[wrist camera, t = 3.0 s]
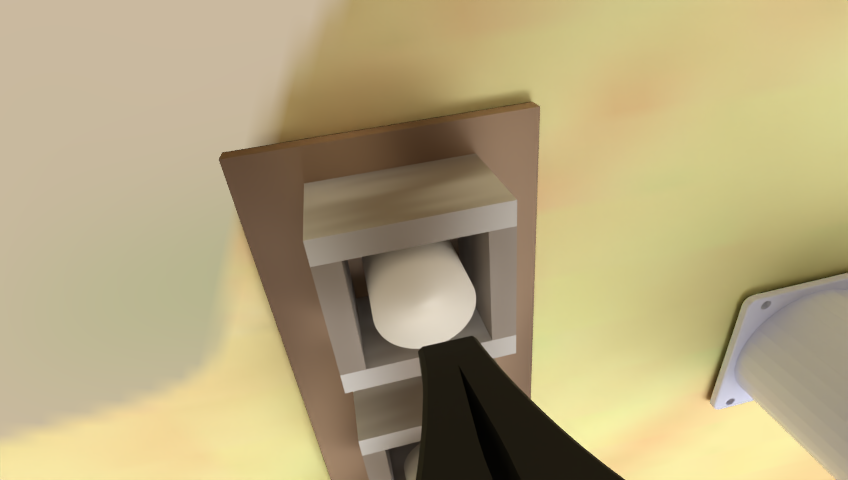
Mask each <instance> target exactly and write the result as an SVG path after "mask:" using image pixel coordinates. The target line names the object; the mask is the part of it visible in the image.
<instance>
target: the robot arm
mask: <svg viewBox="0 0 848 480" xmlns="http://www.w3.org/2000/svg"><path fill="white" fill-rule="evenodd" d="M418 355H419V362H420V369H421V376H422V383H423V410H422V430H421V440H420V449H419V458H418V467H417V474H416V480H625V479H623V478H622V477H621V476H619V475H618V474H617V473H615V472H614V471H613V470H611V469H610V468H609V467H607V466H606V465H605V464H603V463H602V462H601V461H600V460H598V459H597V458H596V457H595V456H593V455H592V454H591V453H590V452H588V451H587V450H586V449H585V448H583V447H582V446H581V445H580V444H579V443H578V442H576V441H575V440H574V439H573V438H572V437H571V436H569V435H568V434H567V433H566V432H565V431H564V430H563V429H561V428H560V427H559V426H558V425H557V424H556V423H555V422H554V421H553V420H552V419H550V418H549V417H548V416H547V415H546V414H545V413H544V412H543V411H542V410H541V409H540V408H539V407H538V406H537V405H536V404H535V403H534V402H533V401H532V400H531V399H530V398H529V397H528V396H527V395H526V394H525V393H524V392H523V391H522V390H521V389H520V388H519V387H518V386H517V385H516V384H515V383H514V382H513V381H512V380H511V379H510V378H509V376H508V375H507V374H506V373H505V372H504V371H503V370H502V369H501V368H500V366H499V365H498V364H497V363H496V362H495V361H494V359H493V358H492V357H491V356H490V355H489V353H488V352H487V351H486V350H485V349H484V347H483V346H482V345H481V343H480V342H479V341H478V339H477V338H475V337H474V336H468V337H463V338H459V339H454V340H450V341H445V342H441V343H437V344H432V345H428V346H423V347H421V349H420V350H419V351H418ZM753 400H755V401H756V402H757V403H758V404H759V405H760V406H761V407H762V408H763V409H764V410H765V411H766V412H767V413H768V414H769V415H770V416H771V417H772V418H773V419H774V420H775V421H776V422H777V423H778V424H779V425H780V426H781V427H782V428H783V429H784V430H785V431H786V432H787V433H789V434H790V435H791V436H792V437H793V438H794V439H795V440H796V441H797V442H798V443H799V444H800V445H801V446H802V447H803V448H804V449H805V450H806V451H807V452H808V453H809V454H810V455H811V456H812V457H813V458H814V459H815V460H816V461H817V462H818V463H819V464H820V465H821V466H822V467H823V468H824V469H825V470H827V471H828V472H829V473H830V474H831V475H832V476H833V477H834V478H835V479H836V480H848V273H845V274H840V275H836V276H832V277H828V278H823V279H819V280H815V281H811V282H806V283H802V284H798V285H794V286H789V287H785V288H781V289H777V290H772V291H768V292H764V293H760V294H755V295H752V296H749V297H748V298H746V299H745V301H744V302H743V304H742V306H741V309H740V312H739V315H738V318H737V321H736V324H735V327H734V330H733V333H732V336H731V339H730V342H729V345H728V348H727V351H726V354H725V357H724V360H723V363H722V366H721V369H720V372H719V375H718V378H717V381H716V384H715V387H714V390H713V393H712V396H711V399H710V404H711V405H712V406H713V407H714V408H715V409H723V408H727V407H730V406H734V405H738V404H741V403H745V402H749V401H753Z"/></svg>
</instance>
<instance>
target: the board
mask: <svg viewBox="0 0 848 480" xmlns="http://www.w3.org/2000/svg"><path fill="white" fill-rule="evenodd" d="M539 120H540V106H538V105H537V104H535V103H533V102H529V103H523V104H517V105H510V106H504V107H498V108H492V109H486V110H480V111H474V112H468V113H462V114H455V115H449V116H443V117H437V118H431V119H425V120H419V121H413V122H406V123H400V124H394V125H388V126H382V127H376V128H370V129H364V130H358V131H351V132H345V133H339V134H333V135H327V136H321V137H315V138H309V139H303V140H296V141H290V142H284V143H278V144H272V145H266V146H260V147H254V148H248V149H241V150H235V151H230V152H223V153H222V154H221V156H220V158H219V161H220V164H221V167H222V170H223V172H224V175H225V178H226V181H227V184H228V187H229V190H230V193H231V195H232V198H233V201H234V204H235V207H236V210H237V213H238V215H239V218H240V221H241V224H242V227H243V230H244V233H245V235H246V238H247V241H248V244H249V247H250V250H251V253H252V255H253V258H254V261H255V264H256V267H257V270H258V273H259V275H260V278H261V281H262V284H263V287H264V290H265V293H266V295H267V298H268V301H269V304H270V307H271V310H272V312H273V315H274V318H275V321H276V324H277V327H278V330H279V332H280V335H281V338H282V341H283V344H284V347H285V350H286V352H287V355H288V358H289V361H290V364H291V367H292V370H293V372H294V375H295V378H296V381H297V384H298V387H299V390H300V392H301V395H302V398H303V401H304V404H305V407H306V410H307V412H308V415H309V418H310V421H311V424H312V427H313V430H314V432H315V435H316V438H317V441H318V444H319V447H320V449H321V452H322V455H323V458H324V461H325V464H326V467H327V469H328V472H329V475H330V478H331V480H406V477H405V472H404V462H405V459H406V457H407V456H408V454H409V453H410V452H411V451H412V450H413V449H414V448H415V447H416V446H417V445H419V444H420V440H421V430H422V410H423V383H422V376H421V369H420V362H419V355H418V351H419V350H420V349H421V348H420V349H411V348H404V347H400V346H397V345H394V344H392V343H390V342H389V341H387V340H386V339H385V338H383V337H382V336H381V335H380V333H379V332H378V331H377V329H376V327H375V324H374V321H373V316H372V311H371V305H370V300H369V295H368V289H367V284H366V278H365V273H364V267H363V262H362V257H364V256H369V255H374V254H379V253H384V252H389V251H394V250H399V249H404V248H409V247H414V246H419V245H424V244H429V243H434V242H439V241H445V240H450V242H451V244H452V246H453V248H454V250H455V252H456V254H457V255H458V257H459V259H460V261H461V263H462V265H463V267H464V269H465V271H466V273H467V275H468V277H469V279H470V281H471V283H472V285H473V287H474V289H475V293H476V306H475V310H474V313H473V315H472V317H471V319H470V321H469V322H468V324H467V325H466V326H465V327H464V328H463V329H462V330H461V331H460V332H459V333H458V334H457V335H455V336H454V337H453V338H451V339H449V340H448V341H450V340H454V339H459V338H463V337H468V336H474V337H475V338H477V339H478V341H479V342H480V343H481V345H482V346H483V347H484V349H485V350H486V351H487V352H488V353H489V355H490V356H491V357H492V358H493V359H494V361H495V362H496V363H497V364H498V365H499V366H500V368H501V369H502V370H503V371H504V372H505V373H506V374H507V375H508V376H509V378H510V379H511V380H512V381H513V382H514V383H515V384H516V385H517V386H518V387H519V388H520V389H521V390H522V391H523V392H524V393H525V394H526V395H527V396H528V397H529V398H530V399H531V370H532V339H533V308H534V276H535V245H536V214H537V182H538V151H539Z"/></svg>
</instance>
